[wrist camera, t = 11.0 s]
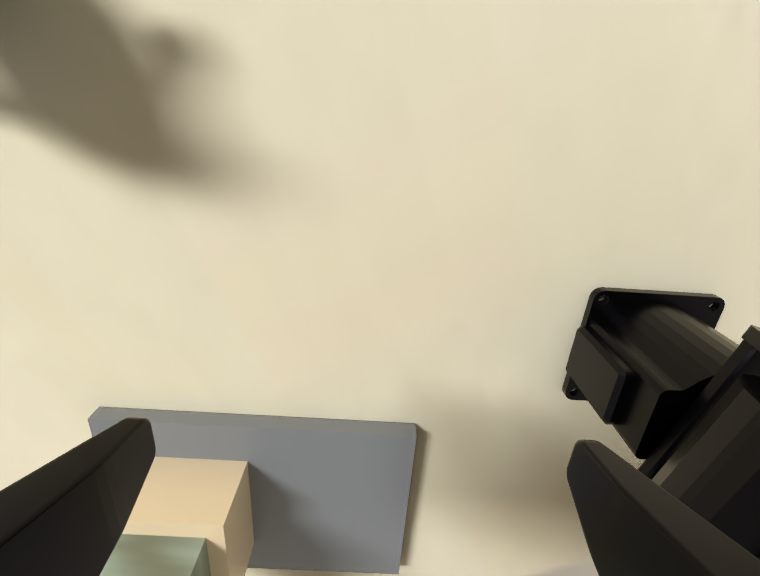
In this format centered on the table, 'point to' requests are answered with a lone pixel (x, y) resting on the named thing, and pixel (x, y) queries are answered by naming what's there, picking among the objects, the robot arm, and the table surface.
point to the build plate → (276, 488)
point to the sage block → (158, 556)
